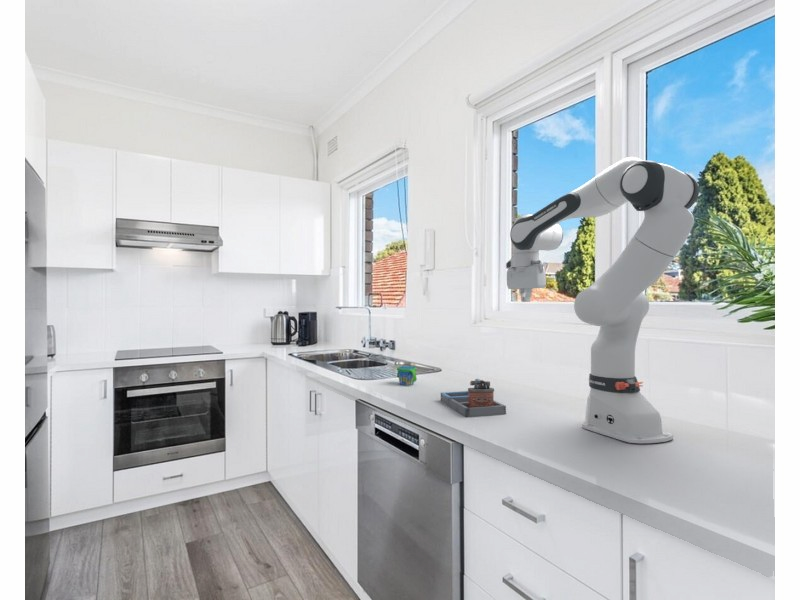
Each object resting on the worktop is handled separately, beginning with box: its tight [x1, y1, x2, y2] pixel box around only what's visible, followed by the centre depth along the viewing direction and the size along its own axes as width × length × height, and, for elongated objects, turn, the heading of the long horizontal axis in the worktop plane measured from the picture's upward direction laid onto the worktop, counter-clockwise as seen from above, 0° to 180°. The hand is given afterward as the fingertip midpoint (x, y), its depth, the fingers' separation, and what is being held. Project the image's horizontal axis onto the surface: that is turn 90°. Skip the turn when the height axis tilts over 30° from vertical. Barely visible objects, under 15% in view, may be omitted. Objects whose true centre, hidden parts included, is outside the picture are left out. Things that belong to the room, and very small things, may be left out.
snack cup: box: [396, 365, 418, 387], centre depth 184 cm, size 11×8×7 cm
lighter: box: [467, 379, 495, 408], centre depth 140 cm, size 8×3×10 cm, turn 91°
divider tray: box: [440, 378, 507, 418], centre depth 147 cm, size 22×14×7 cm, turn 15°
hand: (525, 301), depth 157 cm, fingers closed
